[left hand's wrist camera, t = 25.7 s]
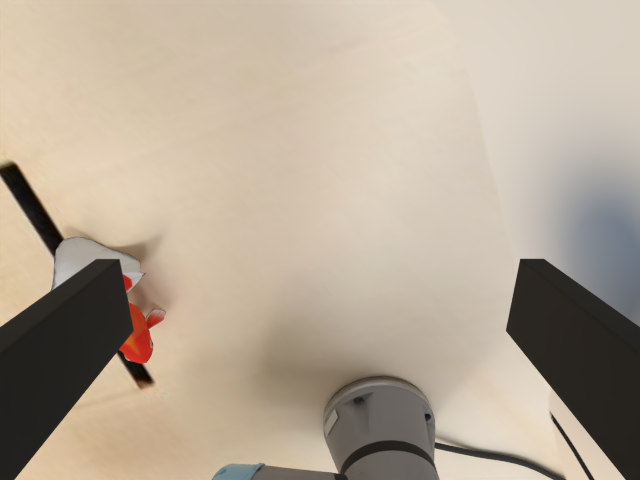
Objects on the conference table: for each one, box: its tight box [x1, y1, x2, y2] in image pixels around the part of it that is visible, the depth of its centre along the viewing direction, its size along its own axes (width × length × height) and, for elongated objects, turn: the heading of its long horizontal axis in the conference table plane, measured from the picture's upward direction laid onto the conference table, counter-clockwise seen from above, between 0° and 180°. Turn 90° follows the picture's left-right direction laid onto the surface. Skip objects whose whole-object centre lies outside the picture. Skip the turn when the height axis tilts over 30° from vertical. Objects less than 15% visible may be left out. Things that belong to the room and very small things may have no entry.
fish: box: [51, 237, 166, 363], centre depth 42 cm, size 11×16×10 cm
